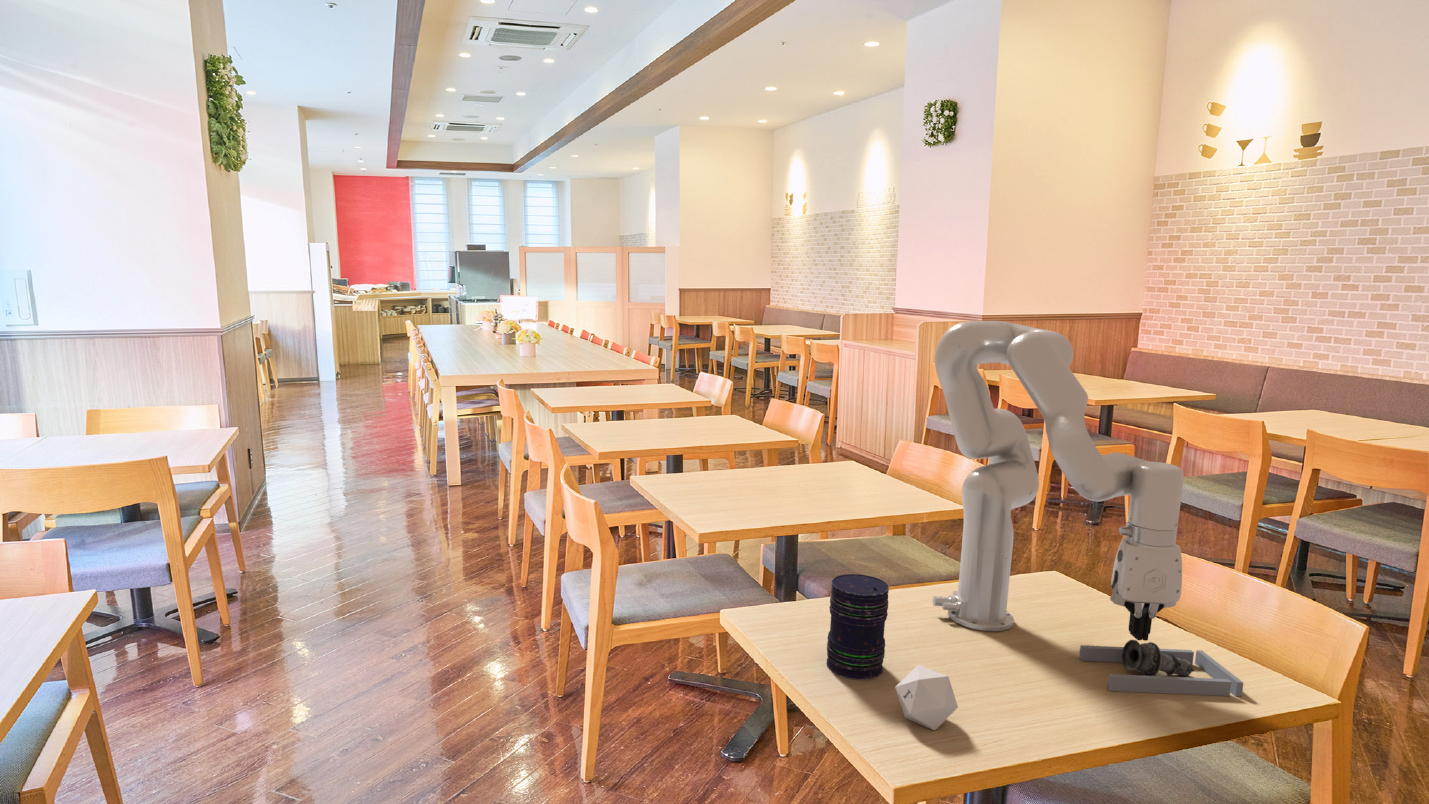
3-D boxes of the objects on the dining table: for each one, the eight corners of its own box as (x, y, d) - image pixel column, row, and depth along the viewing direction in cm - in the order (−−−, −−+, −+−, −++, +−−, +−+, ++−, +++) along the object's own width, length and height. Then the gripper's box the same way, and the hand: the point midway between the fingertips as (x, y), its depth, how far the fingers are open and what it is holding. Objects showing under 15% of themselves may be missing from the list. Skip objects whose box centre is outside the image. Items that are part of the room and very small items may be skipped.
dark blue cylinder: (814, 665, 142) (819, 583, 140) (846, 648, 149) (851, 569, 147) (863, 686, 136) (869, 600, 133) (894, 667, 143) (900, 585, 140)
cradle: (1110, 690, 137) (1111, 676, 137) (1079, 658, 149) (1080, 645, 149) (1241, 696, 137) (1243, 682, 137) (1200, 663, 149) (1201, 650, 149)
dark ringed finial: (1119, 670, 145) (1181, 685, 146) (1140, 674, 139) (1205, 689, 140) (1122, 636, 146) (1184, 651, 148) (1144, 639, 141) (1207, 654, 142)
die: (897, 705, 131) (881, 672, 126) (945, 680, 131) (931, 646, 126) (921, 748, 124) (905, 715, 119) (971, 722, 124) (958, 687, 119)
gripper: (1117, 540, 136) (1105, 644, 139) (1207, 543, 136) (1193, 648, 138) (1096, 526, 143) (1085, 626, 146) (1182, 530, 143) (1170, 629, 146)
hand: (1138, 636), depth 142 cm, fingers closed
